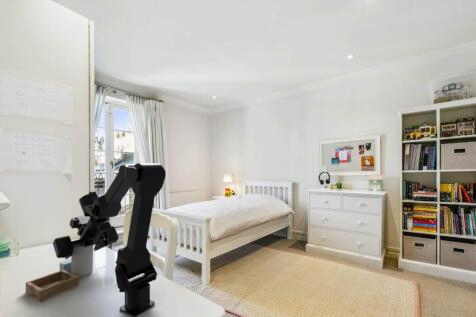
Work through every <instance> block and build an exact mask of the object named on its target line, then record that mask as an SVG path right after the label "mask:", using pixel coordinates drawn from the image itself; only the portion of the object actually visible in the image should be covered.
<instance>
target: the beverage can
mask: <svg viewBox="0 0 476 317" xmlns="http://www.w3.org/2000/svg"><path fill="white" fill-rule="evenodd" d="M79 239H80V238H77V239H74V240H73V241H75V240H79ZM70 259H71V273H72V274H74V275H77V276H79V278H83V277H86V276H89V275H90V274H91V273H92V272H93V271H94V245H92V246H88V247H85V248H84V246H82V247H78V248H75V249H74V250H73V254H72V256H71V257H70Z"/></svg>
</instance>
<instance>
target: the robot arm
mask: <svg viewBox="0 0 476 317" xmlns="http://www.w3.org/2000/svg"><path fill="white" fill-rule="evenodd" d="M166 173H167V172H166V169H165V168H164V166H163V164H161V163H160V162H158V163H157V162H154V163H153V162H145V163H144V162H137V163H132V164H131V163H129V164H128V163H125V164H122V165H120V166H119V167H118V173H117V174H116V176H115V177H114V179H113V180H112V182H111V184H110V186H108V189H107V190H106V192H105V193H104V194H103V195H100V196H99V195H98V194H97V192H96V190H95V191H89V192H88V194H84V195H83V196H82V197H80V198H79V200H78V202H79V205H80V207H81V210H82V213H83V215H78V216H76V217H71V219H70V220H69V226H70V228H71V229H77V236H78V237H79V238H78V239H79V240H77V239H74V240H75V241H74V240H72V239H71V236H70V235H64V236H61V237H60V236H59V237H56V238H54V239H53V242H52V246H53V249H54V252H55V253H54V254H55V255H56V258H58V259H64V260H65V261H67V260H69V258H71V256H72V254H73V250H74V249H75V248H78V247H82V246H84V248H85V247H88V246H92V245H93V252H96V251H99V250H101V249H103V248H106V247H108V246H111V245H113V244H115V243H117V242H118V241H119V238H120V236H119V233H118V231H117V229H116V227H115V226H113V225H111V222H110V220H111V218H114V217H117V216H118V215H119V214H120V212H121V209H122V207H123V206H122V204H121V202H122V201H123V199H124V197H126V194H127V193H128V191H129V190H130V189H131V190H132V192H133V194H134V197H133V204H132V210H131V216H130V217H131V218H130V221H129V222H130V223H129V229H128V236H127V242H126V246H124V247H122V248H119V249H118V250H117V254H116V260H115V268H114V275H115V279H116V286H117V289H119V291H118V292H120V293H124V304H123V305H122V306H120V307H119V311H121V312H123V313H126V314H128V315H129V316H132V317H138V316H139V315H140V314H141V313H143V312H145V311H147V310H148V309H149V308H151V307H152V306H154V305H155V304H156V303H155V301H153V300H151V282H153V281H156V280H157V276H158V272H157V270H156V268H155V266H154V264H153V263H152V260H151V256H152V255H151V253H150V251H149V249H148V247H147V245H148V244H147V243H148V237H149V232H150V225H151V221H152V215H153V214H152V213H153V209H154V203H155V198H156V196H157V195H158V194H159V192H160V191H161V190H162V188H163V187H164V186H163V185H164V182H165V180H166Z"/></svg>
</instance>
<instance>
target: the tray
mask: <svg viewBox="0 0 476 317" xmlns="http://www.w3.org/2000/svg"><path fill="white" fill-rule="evenodd" d="M79 286H80V277H79V276H77V275H74V274H72V273H70V272H68V271H65V270H61V271H60V270H59V271H55V272H52V273H49V274H47V275H44V276H41V277H38V278H35V279H33V280H30V281H26V282H25V294H26V295H29V297H31V298H33V299H34V300H36V301H37V302H39V303H42V302H44V301H47V300H50V299H52V298H55V297H57V296H59V295H62V294H63V293H66V292H69V291H71V290H74V289H76V288H77V287H79Z"/></svg>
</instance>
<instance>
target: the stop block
mask: <svg viewBox="0 0 476 317" xmlns="http://www.w3.org/2000/svg"><path fill="white" fill-rule="evenodd" d="M61 270H65V271H68V272H70V273H71V258H70V259H66V260H65V261H62V262H59V271H61Z"/></svg>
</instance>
